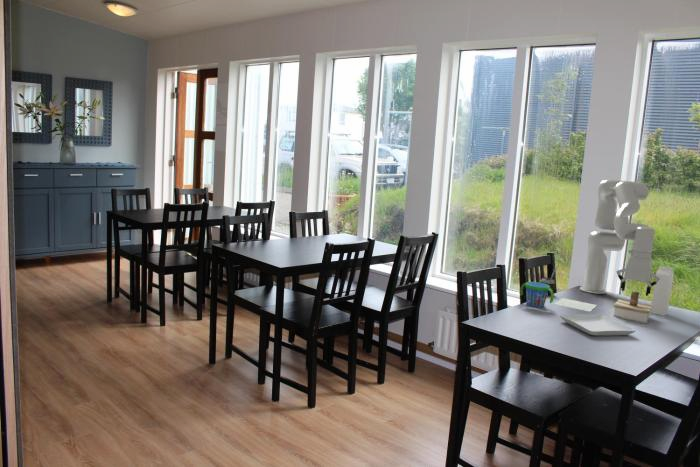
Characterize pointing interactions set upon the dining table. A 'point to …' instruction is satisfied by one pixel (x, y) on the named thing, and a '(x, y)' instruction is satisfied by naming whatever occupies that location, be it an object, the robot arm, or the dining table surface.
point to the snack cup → (536, 293)
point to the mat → (575, 304)
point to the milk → (662, 291)
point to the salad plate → (597, 324)
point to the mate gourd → (549, 282)
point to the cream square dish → (632, 315)
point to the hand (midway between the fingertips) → (634, 292)
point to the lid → (633, 304)
